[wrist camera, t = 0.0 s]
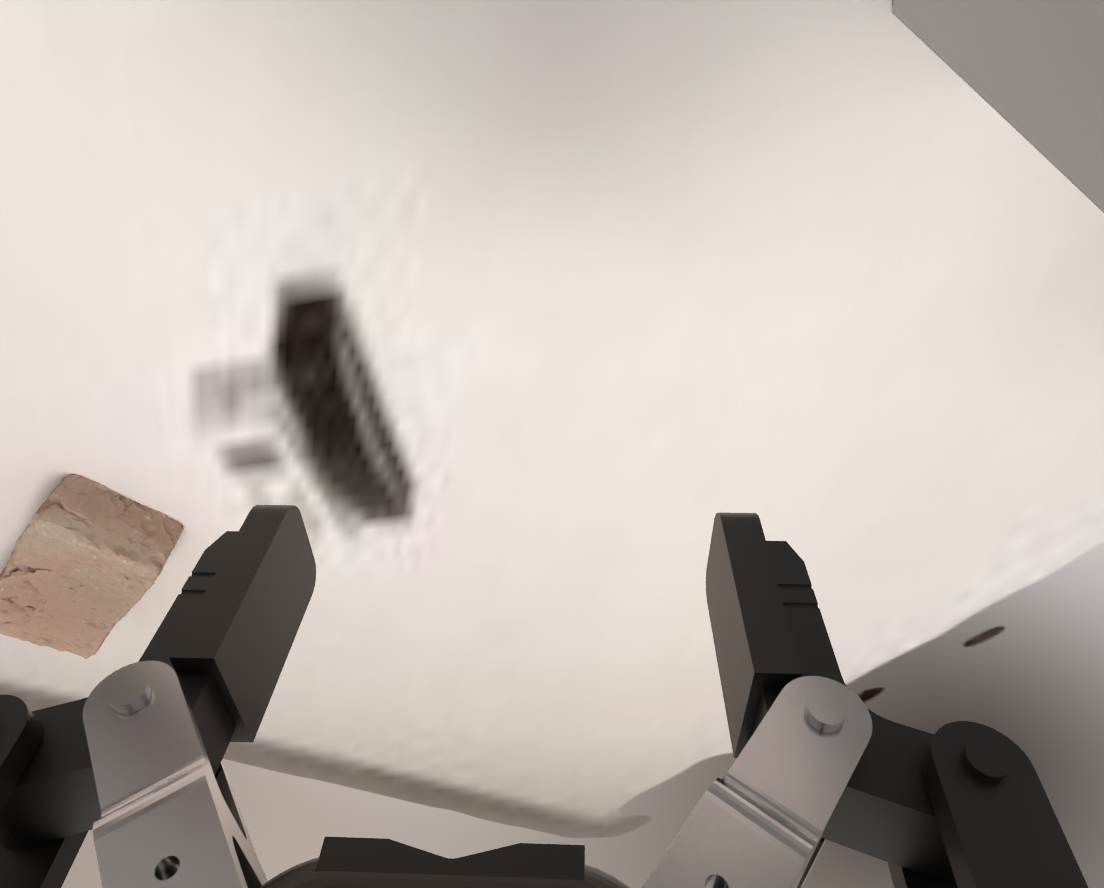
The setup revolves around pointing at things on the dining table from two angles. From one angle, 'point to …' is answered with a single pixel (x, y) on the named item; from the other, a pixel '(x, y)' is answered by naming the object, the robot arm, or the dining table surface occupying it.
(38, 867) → the robot arm
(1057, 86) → the grey step block
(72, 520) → the brick
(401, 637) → the dining table surface
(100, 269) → the dining table surface
